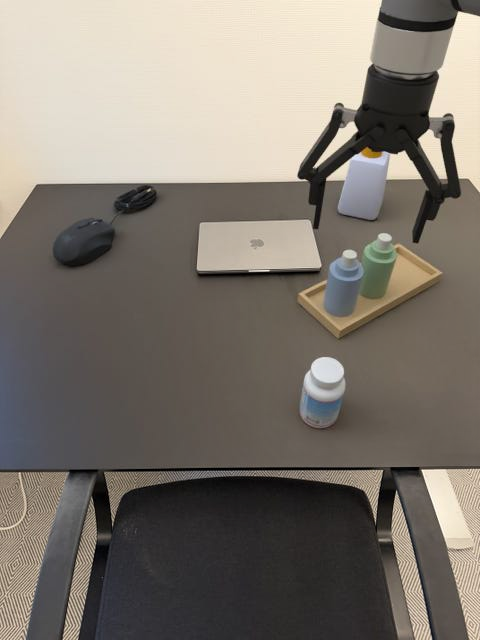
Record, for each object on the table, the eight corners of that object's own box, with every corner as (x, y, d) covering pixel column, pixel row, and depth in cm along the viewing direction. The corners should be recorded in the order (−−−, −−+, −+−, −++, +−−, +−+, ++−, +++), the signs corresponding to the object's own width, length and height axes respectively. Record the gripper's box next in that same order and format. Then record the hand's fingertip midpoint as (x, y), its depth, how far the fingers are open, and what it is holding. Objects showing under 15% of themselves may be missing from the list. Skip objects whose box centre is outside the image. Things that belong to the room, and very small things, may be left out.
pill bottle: (345, 416, 74) (359, 373, 65) (315, 436, 71) (325, 394, 63) (320, 390, 77) (329, 346, 69) (291, 408, 75) (297, 364, 66)
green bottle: (389, 284, 93) (405, 232, 84) (381, 302, 90) (397, 251, 81) (360, 274, 95) (373, 223, 86) (351, 292, 92) (363, 241, 83)
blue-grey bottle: (358, 300, 90) (372, 249, 81) (348, 321, 87) (361, 269, 77) (329, 291, 92) (339, 239, 83) (318, 310, 88) (327, 258, 79)
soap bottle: (327, 191, 118) (341, 101, 102) (382, 202, 115) (406, 110, 99) (317, 211, 112) (330, 118, 96) (375, 223, 109) (399, 129, 93)
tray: (396, 251, 102) (398, 243, 100) (439, 281, 95) (442, 272, 94) (297, 301, 91) (298, 293, 89) (338, 339, 85) (340, 330, 83)
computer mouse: (46, 262, 99) (38, 241, 95) (134, 188, 119) (130, 168, 115) (82, 275, 96) (75, 254, 92) (166, 197, 116) (163, 177, 112)
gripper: (522, 64, 51) (456, 227, 66) (294, 46, 55) (281, 204, 70) (536, 91, 46) (460, 260, 61) (283, 68, 50) (272, 233, 65)
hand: (365, 230), depth 66 cm, fingers open, 13 cm apart
